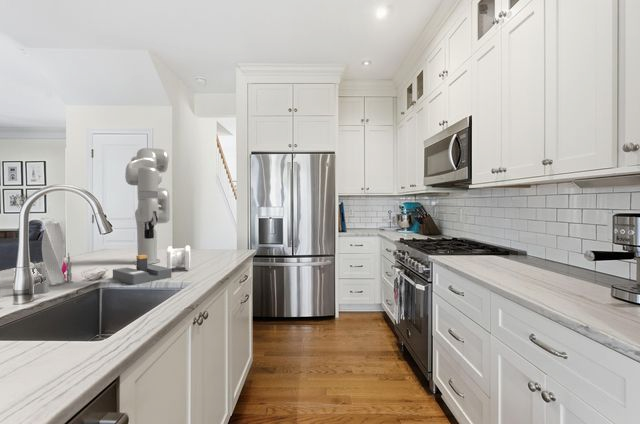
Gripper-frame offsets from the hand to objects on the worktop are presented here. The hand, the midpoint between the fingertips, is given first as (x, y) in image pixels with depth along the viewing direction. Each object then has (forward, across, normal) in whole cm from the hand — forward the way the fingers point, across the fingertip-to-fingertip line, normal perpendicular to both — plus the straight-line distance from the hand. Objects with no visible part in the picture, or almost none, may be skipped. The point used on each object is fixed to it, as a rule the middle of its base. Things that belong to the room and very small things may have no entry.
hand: (149, 238), depth 137 cm
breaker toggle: (+16, -8, 0) cm, 18 cm away
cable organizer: (+18, -12, +20) cm, 30 cm away
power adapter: (+18, -15, -34) cm, 41 cm away
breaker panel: (+18, -8, 0) cm, 20 cm away
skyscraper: (+18, -27, -26) cm, 41 cm away
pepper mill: (+18, -37, -23) cm, 47 cm away
